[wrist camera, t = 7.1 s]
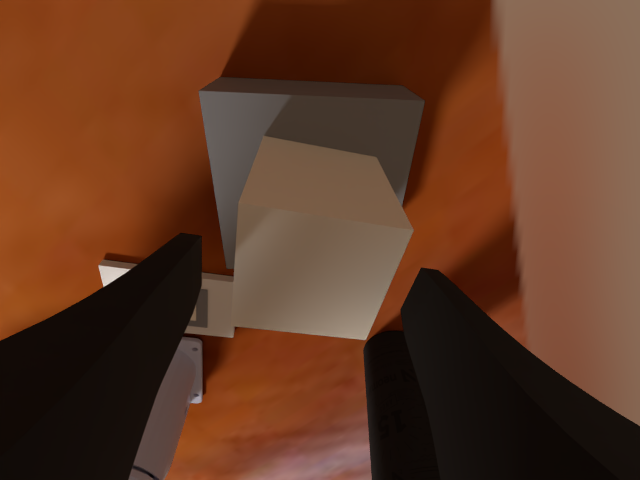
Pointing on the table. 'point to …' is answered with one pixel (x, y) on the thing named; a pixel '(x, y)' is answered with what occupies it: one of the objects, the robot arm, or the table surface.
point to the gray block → (303, 130)
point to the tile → (210, 305)
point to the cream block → (315, 241)
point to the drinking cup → (397, 413)
